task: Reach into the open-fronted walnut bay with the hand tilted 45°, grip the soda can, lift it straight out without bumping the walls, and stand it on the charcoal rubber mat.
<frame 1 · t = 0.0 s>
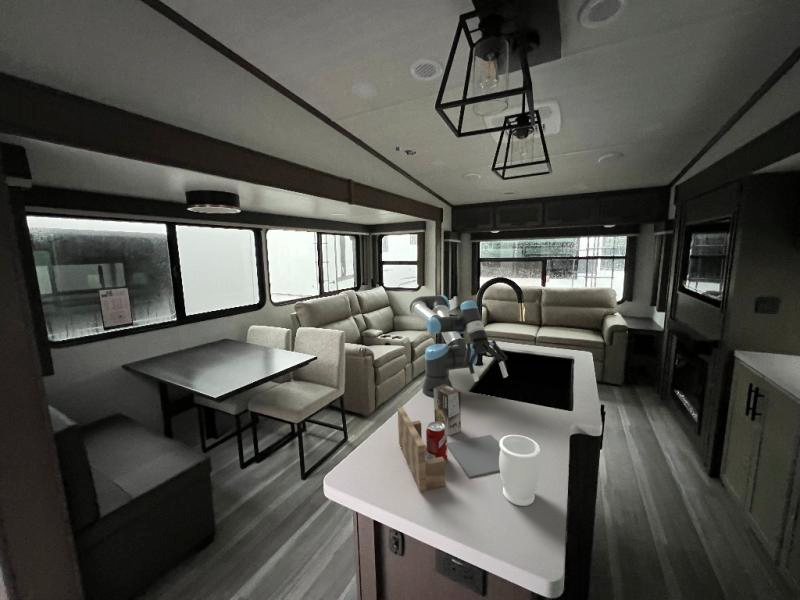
hand: (491, 379, 130), 15 cm above the table, tool tilted 35°, fingers open, 13 cm apart
walnut bay: (411, 465, 100), on the table
rubber mat: (481, 455, 104), on the table
jar: (518, 495, 86), on the table
soda can: (437, 460, 103), on the table
coffee box: (447, 428, 122), on the table
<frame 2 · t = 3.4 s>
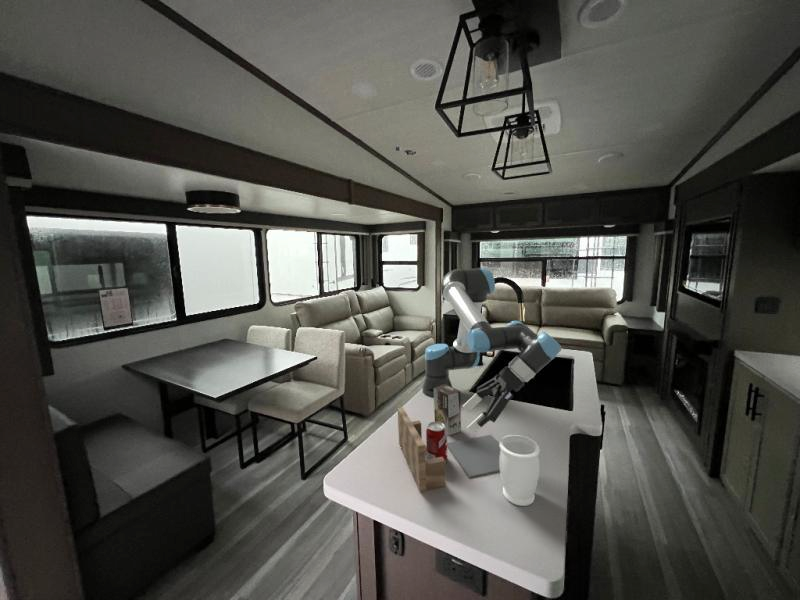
hand: (467, 419, 99), 15 cm above the table, tool tilted 45°, fingers open, 13 cm apart
nothing on the table moved.
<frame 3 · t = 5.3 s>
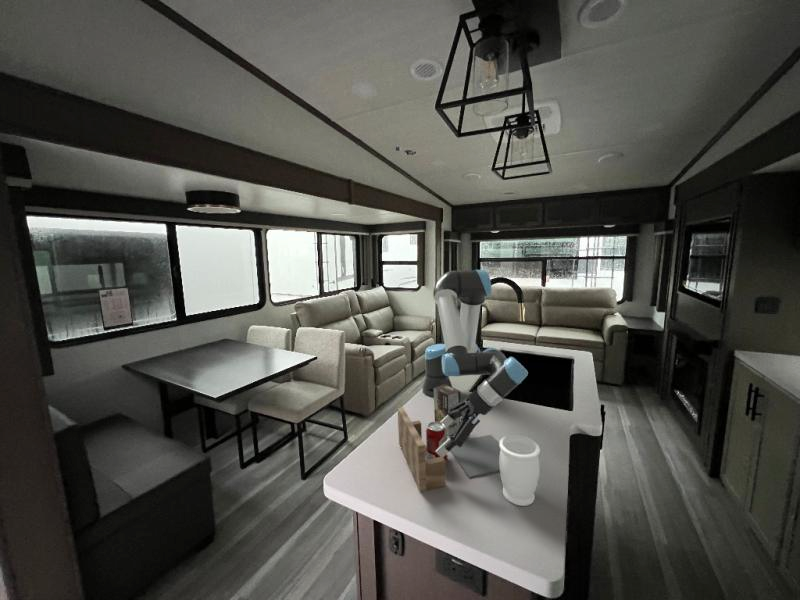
hand: (438, 441, 101), 7 cm above the table, tool tilted 45°, fingers open, 13 cm apart
nothing on the table moved.
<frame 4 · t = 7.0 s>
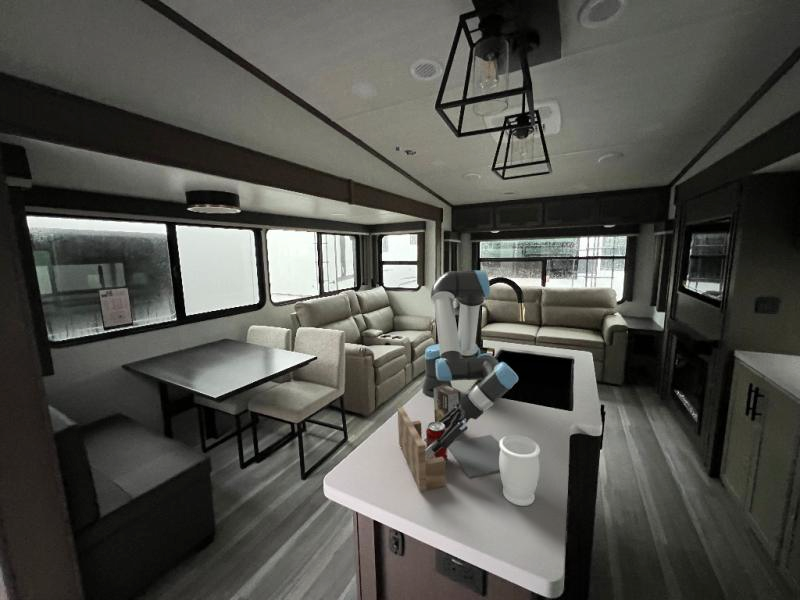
hand: (426, 448, 102), 4 cm above the table, tool tilted 45°, fingers closed on soda can, 7 cm apart
soda can: (437, 460, 103), on the table, touching gripper
everything else where it was.
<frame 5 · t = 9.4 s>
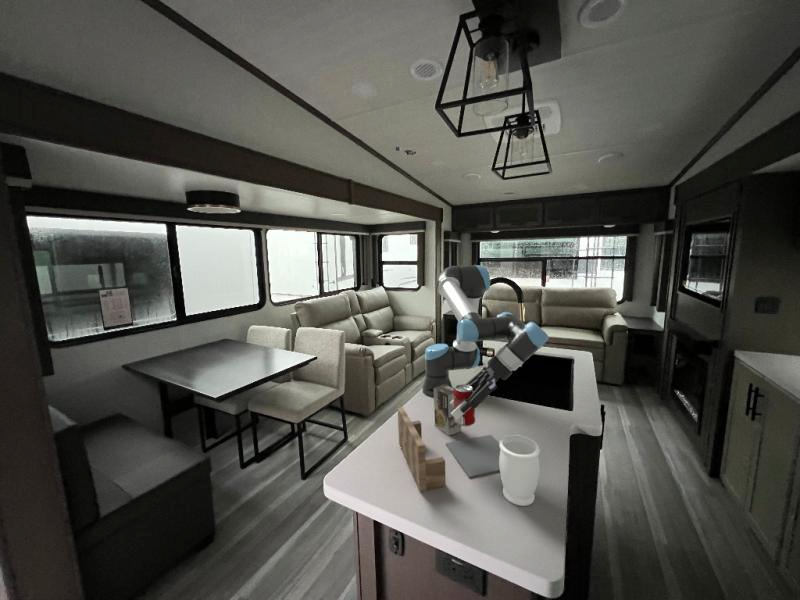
hand: (453, 410, 102), 16 cm above the table, tool tilted 45°, fingers closed on soda can, 7 cm apart
soda can: (464, 423, 102), point 12 cm above the table, touching gripper
everything else where it was.
when the fingers open (6 cm above the table, at t = 12.1 s): soda can drops 1 cm, resting on rubber mat.
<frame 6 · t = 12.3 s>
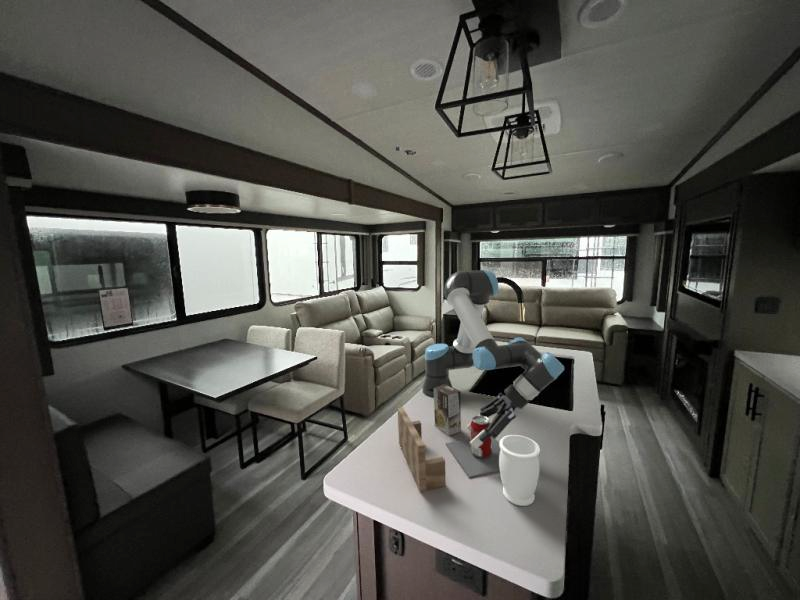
hand: (471, 437, 104), 6 cm above the table, tool tilted 45°, fingers open, 9 cm apart
soda can: (481, 453, 104), resting on rubber mat
everything else where it was.
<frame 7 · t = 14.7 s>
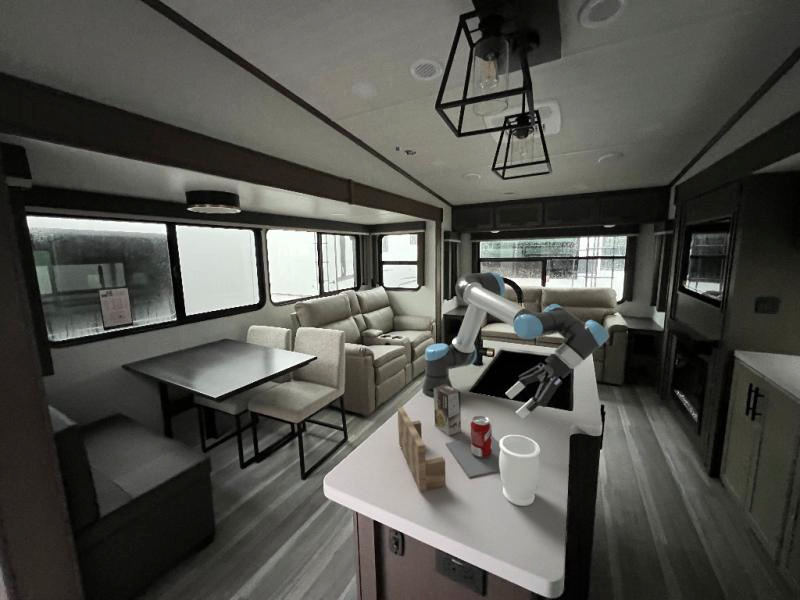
hand: (513, 405, 101), 18 cm above the table, tool tilted 45°, fingers open, 13 cm apart
nothing on the table moved.
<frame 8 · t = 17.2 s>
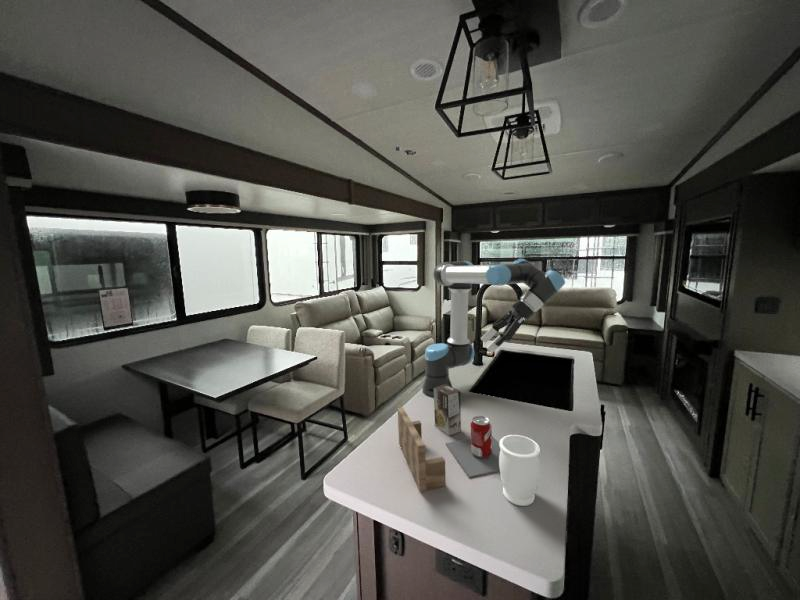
hand: (485, 345, 118), 33 cm above the table, tool tilted 45°, fingers open, 13 cm apart
nothing on the table moved.
at the end: soda can inside the target area on the rubber mat (0.1 cm from its centre), point 0.4 cm above the rubber mat's base; soda can tilted 1°; the gripper is holding nothing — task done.
